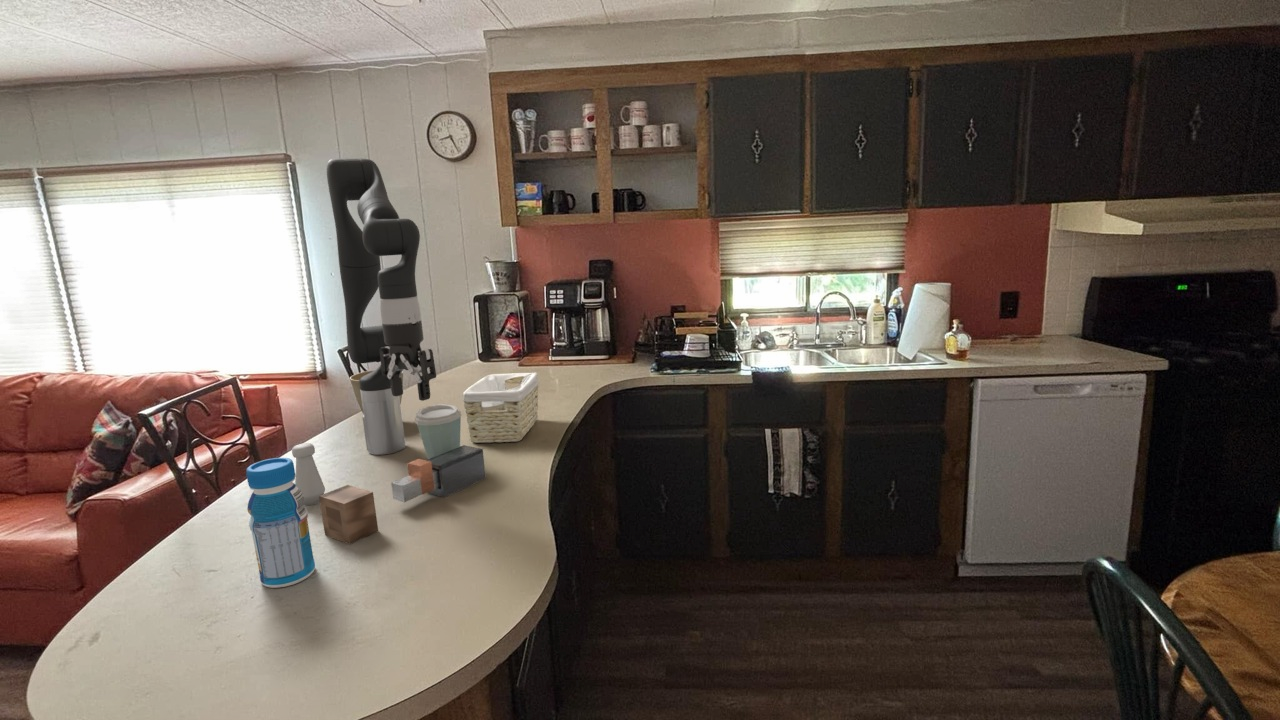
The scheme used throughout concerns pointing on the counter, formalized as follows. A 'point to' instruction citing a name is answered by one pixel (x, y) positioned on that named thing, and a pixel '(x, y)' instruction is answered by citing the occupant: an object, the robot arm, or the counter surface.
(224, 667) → the counter surface
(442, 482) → the sleeve
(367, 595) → the counter surface
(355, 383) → the plant pot
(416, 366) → the robot arm
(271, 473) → the beverage bottle
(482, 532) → the counter surface
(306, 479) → the salt shaker
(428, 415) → the disposable coffee cup
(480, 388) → the storage basket
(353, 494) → the cardboard box
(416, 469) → the grey square bar
